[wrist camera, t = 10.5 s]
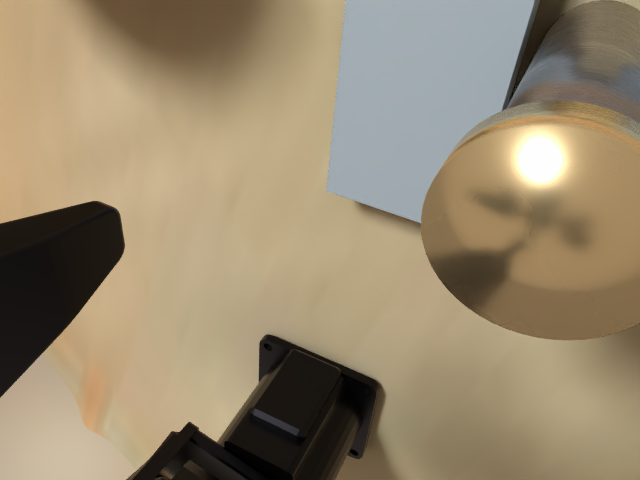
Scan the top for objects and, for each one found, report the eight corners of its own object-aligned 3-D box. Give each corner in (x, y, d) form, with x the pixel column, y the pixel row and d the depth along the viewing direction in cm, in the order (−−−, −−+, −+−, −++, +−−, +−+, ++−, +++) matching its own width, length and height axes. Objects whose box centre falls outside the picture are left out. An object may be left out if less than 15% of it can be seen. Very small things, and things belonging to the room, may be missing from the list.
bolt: (641, 140, 17) (623, 373, 10) (504, 104, 18) (403, 289, 11) (711, -4, 14) (752, 175, 7) (546, -34, 15) (449, 94, 8)
